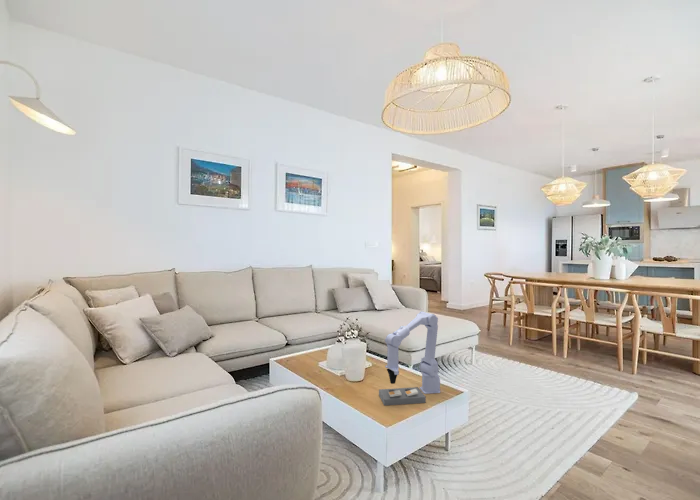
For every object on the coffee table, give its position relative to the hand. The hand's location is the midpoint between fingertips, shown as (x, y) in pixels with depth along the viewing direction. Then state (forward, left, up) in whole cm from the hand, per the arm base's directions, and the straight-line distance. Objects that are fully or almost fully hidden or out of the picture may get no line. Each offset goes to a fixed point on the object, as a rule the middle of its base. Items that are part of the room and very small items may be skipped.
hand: (392, 383), depth 177 cm
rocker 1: (-1, +2, -5) cm, 6 cm away
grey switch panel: (-5, -1, -9) cm, 11 cm away
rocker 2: (-10, +2, -5) cm, 11 cm away
